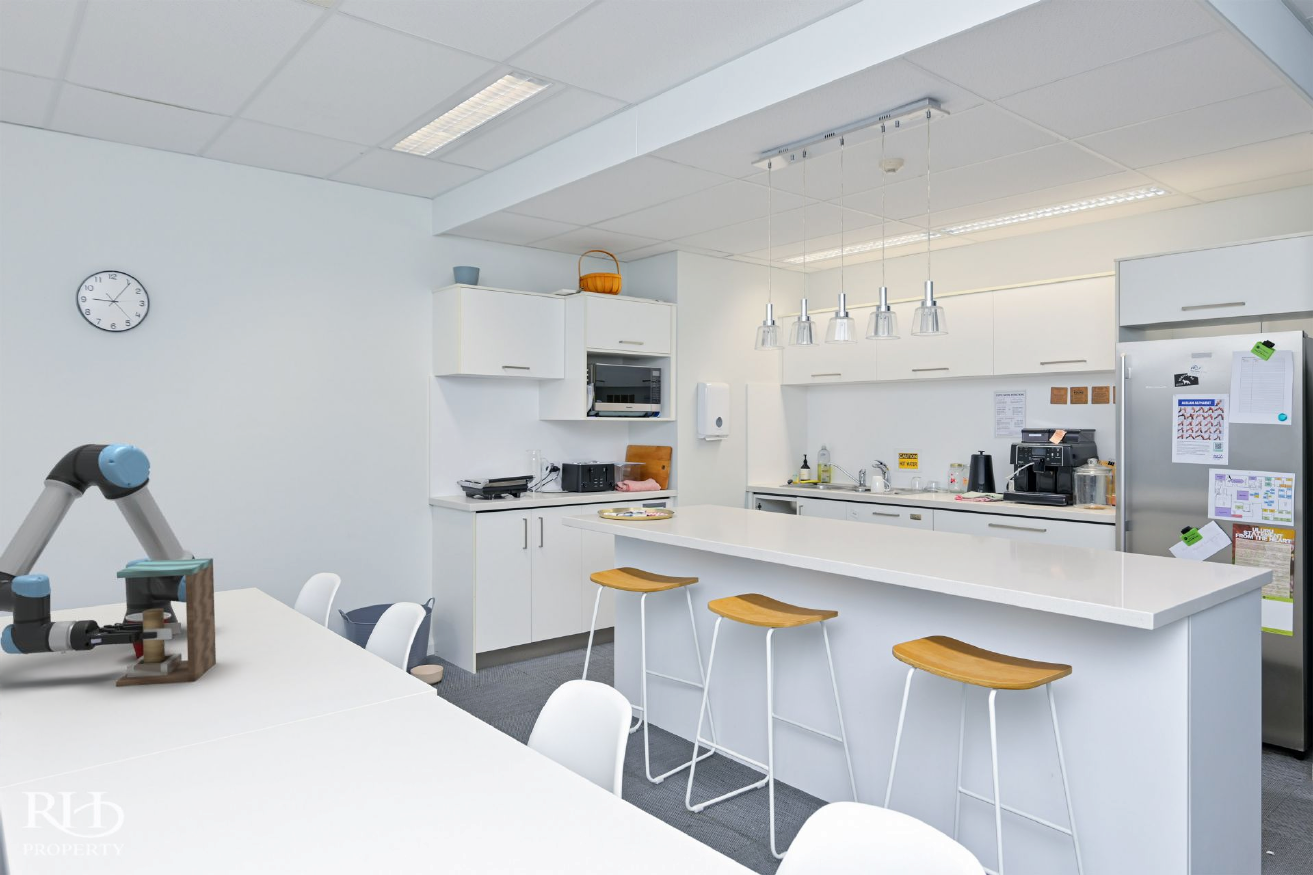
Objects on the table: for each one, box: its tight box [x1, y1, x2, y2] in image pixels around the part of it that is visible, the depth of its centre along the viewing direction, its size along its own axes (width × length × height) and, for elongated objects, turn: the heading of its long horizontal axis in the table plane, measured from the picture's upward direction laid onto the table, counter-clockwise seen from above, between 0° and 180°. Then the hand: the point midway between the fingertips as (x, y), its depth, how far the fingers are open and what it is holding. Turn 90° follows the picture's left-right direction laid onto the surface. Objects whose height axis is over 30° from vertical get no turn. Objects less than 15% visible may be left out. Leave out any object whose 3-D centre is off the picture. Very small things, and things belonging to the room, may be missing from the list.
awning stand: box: [115, 557, 217, 687], centre depth 209 cm, size 15×18×28 cm
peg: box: [143, 609, 166, 663], centre depth 208 cm, size 5×5×13 cm
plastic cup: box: [126, 613, 171, 660], centre depth 224 cm, size 11×11×12 cm
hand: (176, 630), depth 209 cm, fingers closed on peg, 4 cm apart
